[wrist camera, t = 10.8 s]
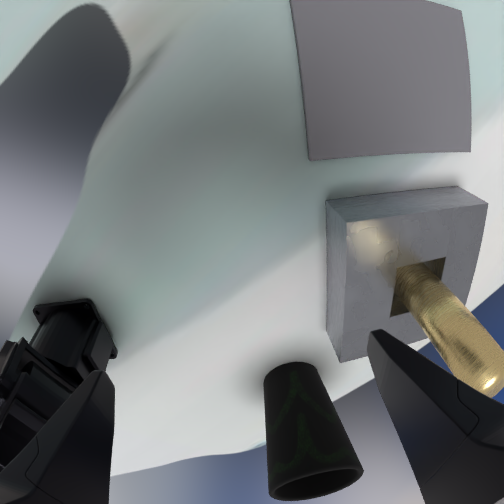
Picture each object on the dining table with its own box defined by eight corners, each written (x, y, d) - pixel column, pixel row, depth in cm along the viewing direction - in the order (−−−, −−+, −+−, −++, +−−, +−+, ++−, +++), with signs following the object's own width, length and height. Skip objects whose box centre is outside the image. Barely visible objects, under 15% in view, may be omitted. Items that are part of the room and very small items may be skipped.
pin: (371, 273, 25) (462, 408, 12) (388, 239, 23) (500, 365, 11) (399, 280, 25) (489, 402, 13) (416, 248, 24) (522, 363, 12)
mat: (309, 159, 20) (310, 160, 19) (287, -15, 14) (288, -16, 14) (467, 150, 20) (470, 152, 20) (458, 11, 15) (461, 10, 14)
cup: (283, 344, 27) (314, 465, 17) (342, 366, 30) (382, 466, 19) (238, 391, 30) (250, 499, 19) (296, 407, 32) (319, 501, 22)
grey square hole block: (326, 330, 27) (339, 362, 23) (325, 200, 21) (346, 223, 18) (437, 302, 27) (457, 327, 24) (457, 186, 22) (488, 203, 18)
